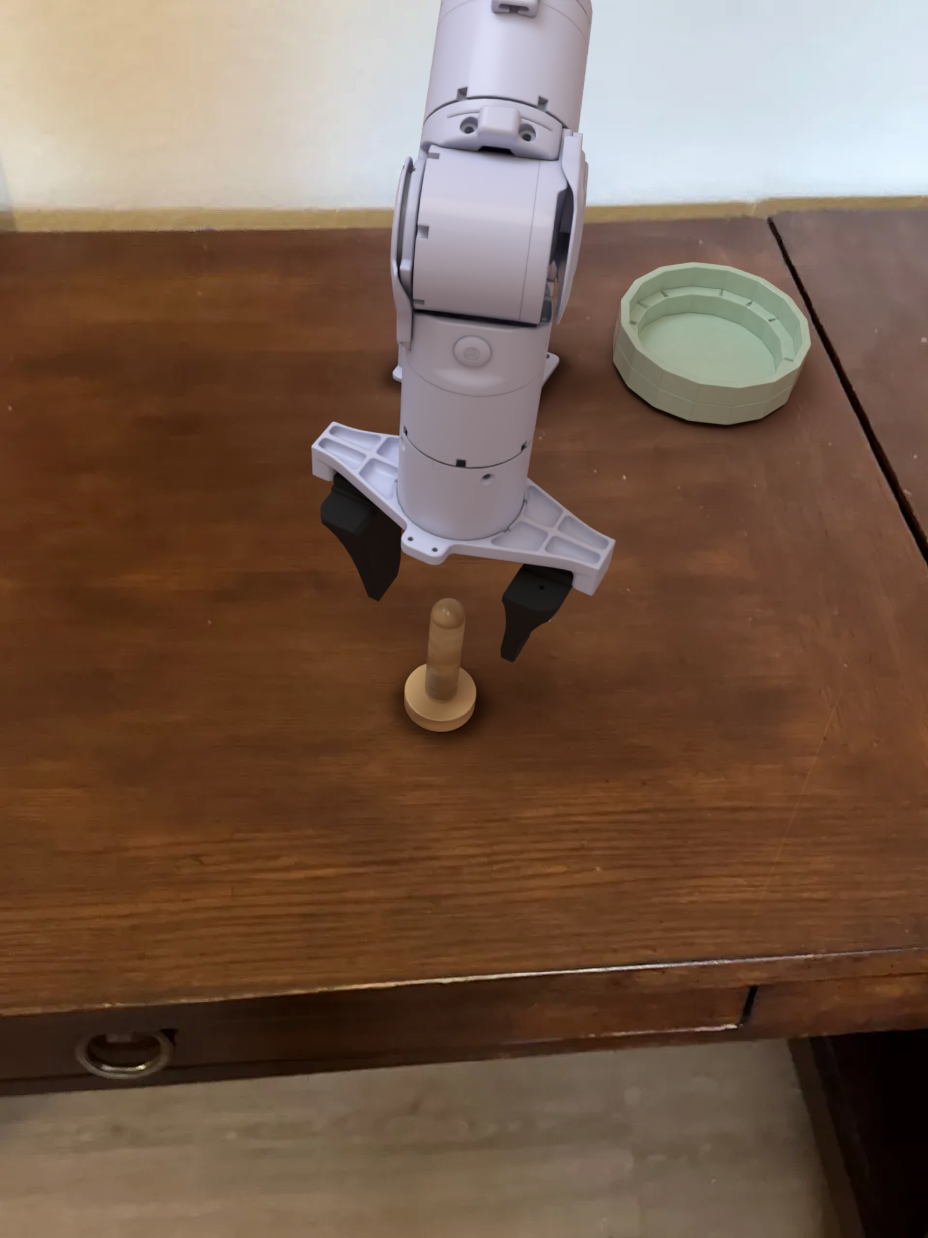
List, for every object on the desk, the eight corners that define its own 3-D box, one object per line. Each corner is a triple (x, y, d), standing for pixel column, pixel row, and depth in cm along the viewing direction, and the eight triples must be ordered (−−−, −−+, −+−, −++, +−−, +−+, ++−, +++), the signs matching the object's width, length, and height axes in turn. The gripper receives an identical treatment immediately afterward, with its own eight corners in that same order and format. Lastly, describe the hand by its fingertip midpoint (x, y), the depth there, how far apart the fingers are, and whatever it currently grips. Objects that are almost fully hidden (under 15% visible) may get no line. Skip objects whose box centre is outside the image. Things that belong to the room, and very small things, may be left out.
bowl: (582, 386, 85) (591, 341, 82) (651, 285, 93) (662, 241, 89) (759, 456, 82) (775, 412, 79) (816, 346, 90) (833, 302, 86)
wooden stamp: (391, 713, 68) (395, 615, 61) (425, 662, 70) (432, 562, 63) (454, 743, 67) (466, 648, 60) (486, 691, 69) (501, 593, 62)
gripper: (269, 413, 50) (284, 612, 61) (586, 549, 47) (543, 733, 58) (355, 320, 54) (355, 522, 65) (653, 439, 51) (601, 631, 62)
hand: (448, 615), depth 62 cm, fingers open, 7 cm apart
